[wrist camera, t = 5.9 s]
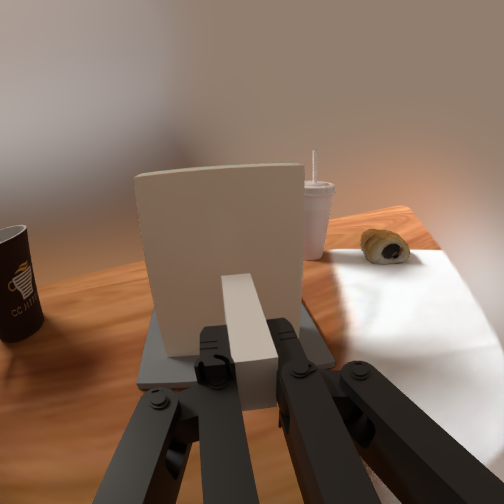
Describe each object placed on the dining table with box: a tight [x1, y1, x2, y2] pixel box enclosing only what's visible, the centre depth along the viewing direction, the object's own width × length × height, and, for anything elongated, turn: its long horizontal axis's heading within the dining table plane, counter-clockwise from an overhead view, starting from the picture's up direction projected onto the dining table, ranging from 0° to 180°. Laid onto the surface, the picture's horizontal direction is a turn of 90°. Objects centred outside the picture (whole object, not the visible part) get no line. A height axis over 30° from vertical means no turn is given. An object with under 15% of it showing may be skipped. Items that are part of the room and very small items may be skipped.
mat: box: [137, 302, 336, 389], centre depth 28 cm, size 14×20×1 cm
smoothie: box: [303, 150, 335, 260], centre depth 37 cm, size 6×6×14 cm
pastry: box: [360, 229, 410, 264], centre depth 39 cm, size 9×7×4 cm
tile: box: [134, 162, 305, 357], centre depth 20 cm, size 10×2×13 cm, turn 99°
